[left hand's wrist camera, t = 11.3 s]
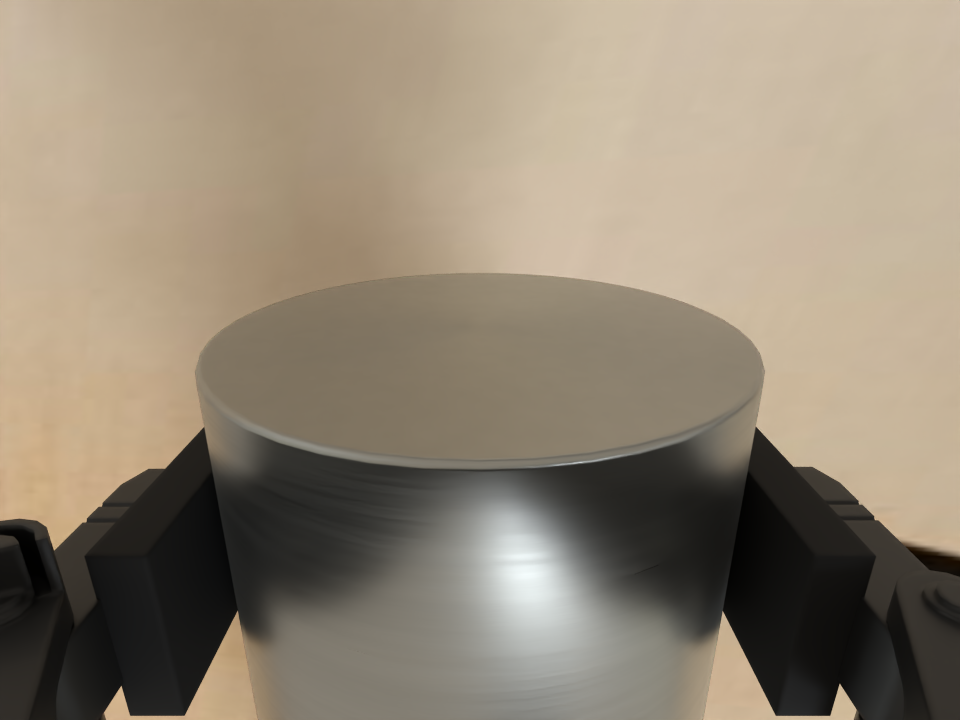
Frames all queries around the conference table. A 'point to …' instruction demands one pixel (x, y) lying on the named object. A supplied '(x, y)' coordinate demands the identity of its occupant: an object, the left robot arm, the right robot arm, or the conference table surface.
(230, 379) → the rod
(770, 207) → the conference table surface
